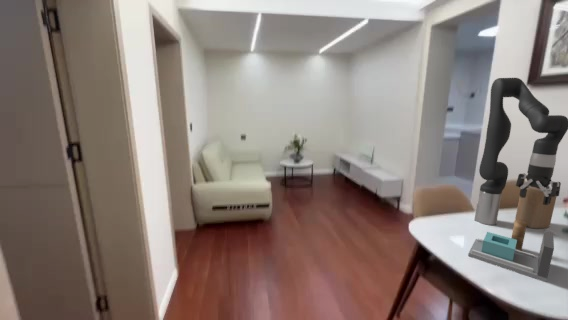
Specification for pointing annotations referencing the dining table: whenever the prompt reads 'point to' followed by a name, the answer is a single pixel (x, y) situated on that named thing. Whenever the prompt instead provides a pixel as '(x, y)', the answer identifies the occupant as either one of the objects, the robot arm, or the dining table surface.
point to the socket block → (499, 246)
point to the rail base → (521, 258)
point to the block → (535, 209)
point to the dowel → (519, 233)
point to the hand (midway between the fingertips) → (533, 200)
